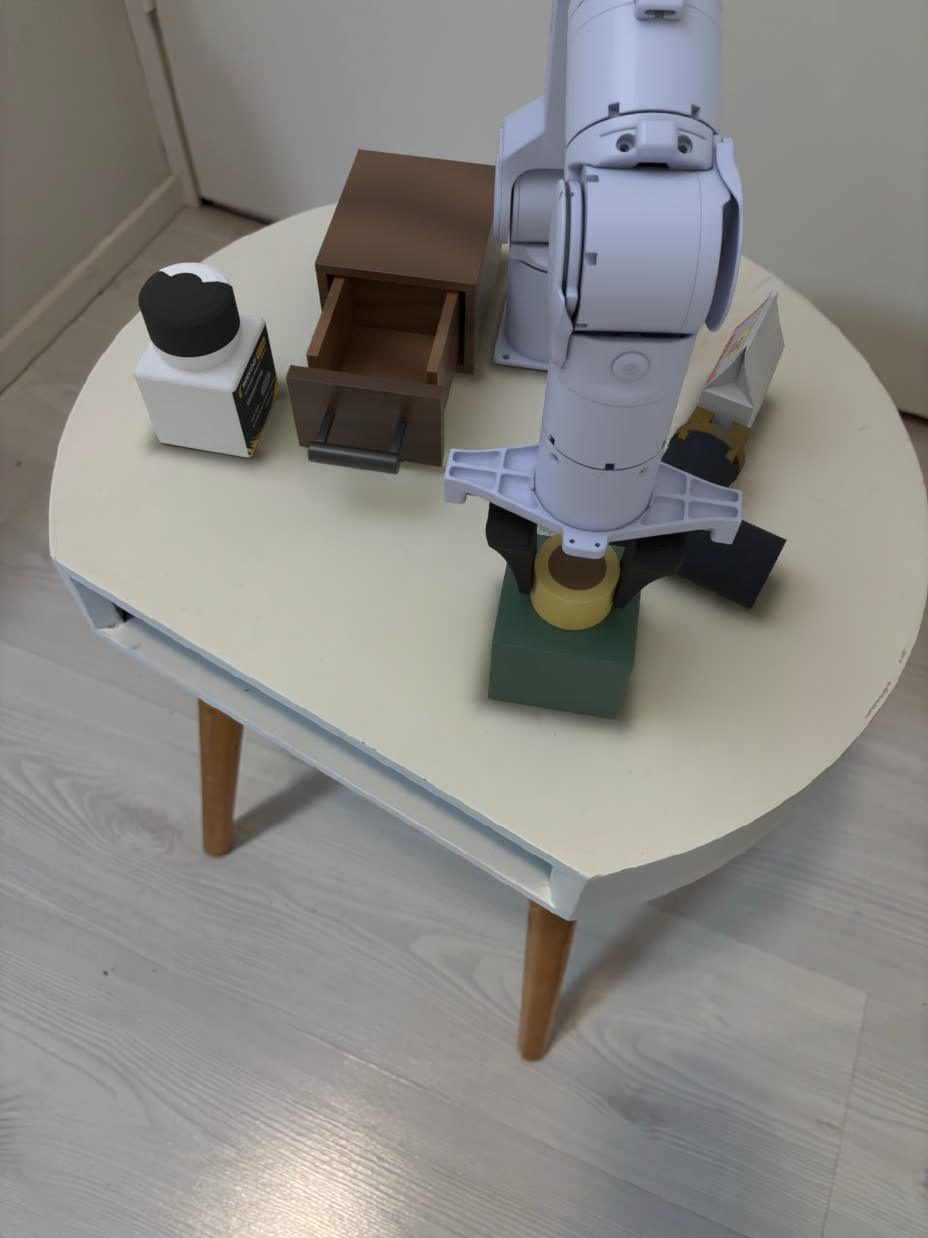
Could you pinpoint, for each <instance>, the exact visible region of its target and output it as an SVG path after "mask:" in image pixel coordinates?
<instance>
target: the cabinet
mask: <svg viewBox="0 0 928 1238" xmlns="http://www.w3.org/2000/svg"><path fill="white" fill-rule="evenodd" d="M495 166H496V164H495V165H494V164H486V163H477V162H470V161H469V162H468V161H462V160H461V161H460V160H453V159H445V158H444V159H443V158H436V157H428V156H420V155H412V154H403V153H394V152H386V151H380V150H379V151H378V150H370V149H369V150H368V149H361V148H359V149H358V150H357V152H356V155H355V157H354V160H353V162H352V165H351V168H350V170H349V173H348V176H347V178H346V181H345V183H344V186H343V189H342V191H341V194H340V197H339V199H338V202H337V204H336V207H335V208H334V212H333V214H332V217H331V220H330V222H329V225H328V227H327V230H326V232H325V236H324V238H323V241H322V242H321V246H320V248H319V251H318V253H317V256H316V259H315V260H314V269H315V276H316V283H317V289H318V296H319V303H320V310H321V311H320V312H322V310H323V307H324V305H325V302H326V299H327V296H328V294H329V291H330V288H331V285H332V283H333V280H334V277H335V275H340V276H348V277H355V278H363V279H371V280H378V281H386V282H394V283H401V284H409V285H417V286H424V287H432V288H439V289H447V290H455V291H462V292H463V333H462V334H463V336H462V344H461V348H460V352H459V356H458V360H457V364H456V368H455V372H454V373H457V374H458V373H459V374H465V375H472V376H473V375H475V371H476V367H477V363H478V359H479V354H480V350H481V345H482V341H483V337H484V333H485V329H486V325H487V321H488V316H489V312H490V309H491V303H492V300H493V299H492V298H493V295H494V291H495V288H496V287H495V286H496V282H497V277H498V274H499V269H500V265H501V261H502V249H503V248H502V246H503V244H500V243H499V239H497V238H496V237H495V236H494V234H493V224H494V190H495Z"/></svg>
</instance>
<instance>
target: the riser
mask: <svg viewBox="0 0 928 1238" xmlns="http://www.w3.org/2000/svg"><path fill="white" fill-rule="evenodd" d="M553 536H554V535H553ZM553 536H552V535H547V534H539V533H537V551H538V549H539V548H540V546H541V545H542V544H543V543H544V542H545V541H546V540H548V539H549V538H551V537H553ZM609 545H610V546H611V547H612V549H613V550H614V551H615V553H616V555H617V557H618V559H619V562H620V560H621V557H622V555H623V552H624V549H625V547H620V546H615V545H613V544H609ZM503 575H504V576H503V580H502V585H501V590H500V597H499V602H498V606H497V607H498V608H497V612H496V617H495V623H494V629H493V632H492V633H493V634H492V639H491V647H490V661H489V672H488V673H489V674H488V687H487V699H490V700H494V701H495V700H496V701H503V702H509V703H513V704H519V705H525V706H533V707H539V708H544V709H551V710H555V711H556V710H557V711H563V712H570V713H577V714H581V715H587V716H593V717H598V718H599V717H600V718H605V719H612V720H616V719H617V716H618V712H619V709H620V706H621V703H622V701H623V698H624V695H625V693H626V690H627V687H628V683H629V680H630V677H631V675H632V672H633V669H634V666H635V657H636V647H637V637H638V627H639V618H640V617H639V615H640V605H641V597H642V596H641V595H642V590H641V591H639V592H638V593H637V594H636V595H635V596H634V597H633V598H632V599H631V600H630V602H629V603H628V604H627V605H626V607H625V608H624V609H620V608H613V604H612V607H611V610H610V611H609V613H608V615H607V616H606V617H605V618H604V619H603V620H602V621H601V622H599V623H598V624H596V625H594V626H592V627H590V628H587V629H583V630H566V629H561V628H558V627H555V626H553V625H551V624H550V623H548V622H546V621H545V620H544V619H543V618H542V617H541V616H540V615H539V614H538V613H537V612H536V610H535V609H534V607H533V604H532V602H531V598H530V595H529V594H523V593H519V591H518V586H517V583H516V580H515V577H514V575H513V572H512V570H511V568H510V567H509V565H508V563H507V562H506V564H505V569H504V574H503Z"/></svg>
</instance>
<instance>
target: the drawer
mask: <svg viewBox="0 0 928 1238" xmlns="http://www.w3.org/2000/svg"><path fill="white" fill-rule="evenodd" d="M462 333H463V292H462V291H455V290H447V289H439V288H432V287H424V286H417V285H409V284H401V283H394V282H386V281H378V280H371V279H363V278H355V277H348V276H340V275H335V277H334V280H333V283H332V285H331V288H330V291H329V294H328V296H327V299H326V302H325V305H324V307H323V310H322V311H321V313H320V316H319V318H318V321H317V324H316V326H315V329H314V332H313V335H312V337H311V341H310V343H309V346H308V349H307V352H306V354H305V356H306V362H307V366H302V365H295V364H290V365H289V368H288V370H287V373H286V376H285V380H286V386H287V389H288V390H287V391H288V396H289V401H290V406H291V411H292V417H293V421H294V425H295V432H296V436H297V441H298V446H299V447H302V448H307V459H308V462H310V463H314V464H315V463H316V464H321V465H329V466H335V467H342V468H348V469H357V470H363V471H370V472H377V473H383V474H390V475H398V474H399V472H400V470H401V462H405V463H411V464H418V465H426V466H432V467H438V468H441V467H443V463H444V459H445V453H446V452H445V451H446V450H445V412H446V408H447V404H448V401H449V395H450V391H451V389H452V388H451V387H452V383H453V379H454V375H455V373H456V372H455V368H456V364H457V360H458V356H459V352H460V348H461V344H462V336H463V334H462Z"/></svg>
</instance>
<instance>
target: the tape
mask: <svg viewBox="0 0 928 1238" xmlns="http://www.w3.org/2000/svg"><path fill="white" fill-rule="evenodd" d="M562 541H563V538H562V536H561V535H560V534H558V533H556V534H555V535H553V537H551V538H549V539H548V540H546V541H545V542H544V543H543V544H542V545H541V546H540V548H539V549H538V551H537V553H536V555H535V559H534V566H533V579H532V586H531V592H530V598H531V602H532V604H533V607H534V609H535V610H536V612H537V613H538V614H539V615H540V616H541V617H542V618H543V619H544V620H545V621H546V622H548V623H550V624H551V625H553V626H555V627H558V628H561V629H566V630H583V629H587V628H590V627H592V626H594V625H596V624H598V623H599V622H601V621H602V620H603V619H604V618H605V617H606V616H607V615H608V613H609V611H610V610H611V607H612V604H613V599H614V596H615V592H616V589H617V585H618V582H619V578H620V572H621V568H620V562H619V559H618V557H617V555H616V553H615V551H614V550H613V549H612V547H611V546H610V545H611V544H610V543H608V544H607V548H606V552H605V554H604V556H603V557H601V558H600V559H591V558H584V557H578V556H571V555H568V554H566V553H565V552H564V551H563V549H562Z"/></svg>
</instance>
